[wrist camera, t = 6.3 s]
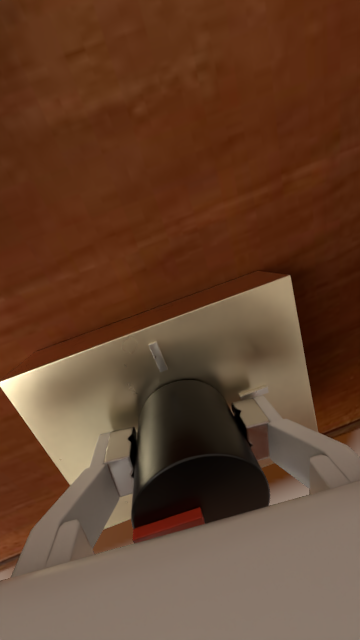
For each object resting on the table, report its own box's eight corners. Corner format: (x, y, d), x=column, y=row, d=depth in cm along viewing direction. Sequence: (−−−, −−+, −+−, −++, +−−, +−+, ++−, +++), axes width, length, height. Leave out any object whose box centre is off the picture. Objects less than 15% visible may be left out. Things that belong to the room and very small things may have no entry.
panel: (288, 409, 15) (322, 447, 12) (111, 477, 15) (101, 534, 12) (257, 270, 12) (293, 274, 9) (33, 352, 12) (-7, 384, 9)
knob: (219, 367, 10) (266, 444, 6) (235, 440, 11) (283, 544, 7) (125, 395, 10) (107, 495, 6) (153, 466, 11) (155, 588, 7)
